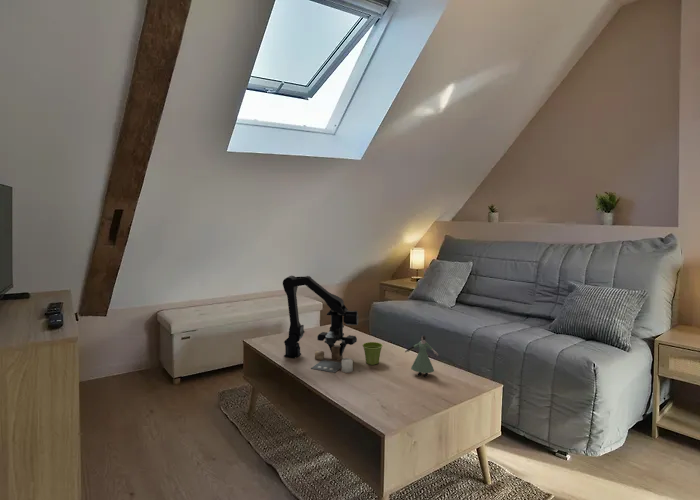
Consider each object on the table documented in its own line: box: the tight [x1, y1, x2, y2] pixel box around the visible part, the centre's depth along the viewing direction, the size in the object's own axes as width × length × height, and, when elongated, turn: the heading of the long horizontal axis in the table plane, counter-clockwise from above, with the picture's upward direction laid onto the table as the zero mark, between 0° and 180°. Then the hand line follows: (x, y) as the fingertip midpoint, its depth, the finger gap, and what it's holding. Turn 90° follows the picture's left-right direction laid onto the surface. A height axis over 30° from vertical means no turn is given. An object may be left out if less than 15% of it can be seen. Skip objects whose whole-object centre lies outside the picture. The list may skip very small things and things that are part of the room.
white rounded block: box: [341, 357, 354, 374], centre depth 209 cm, size 5×5×5 cm
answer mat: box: [310, 359, 342, 373], centre depth 214 cm, size 12×12×1 cm
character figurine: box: [404, 334, 439, 378], centre depth 203 cm, size 16×8×18 cm, turn 59°
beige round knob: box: [314, 350, 325, 361], centre depth 225 cm, size 5×5×3 cm
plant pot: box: [362, 341, 383, 366], centre depth 219 cm, size 9×9×9 cm
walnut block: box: [331, 344, 343, 361], centre depth 225 cm, size 4×4×6 cm
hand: (337, 355), depth 225 cm, fingers closed on walnut block, 4 cm apart
